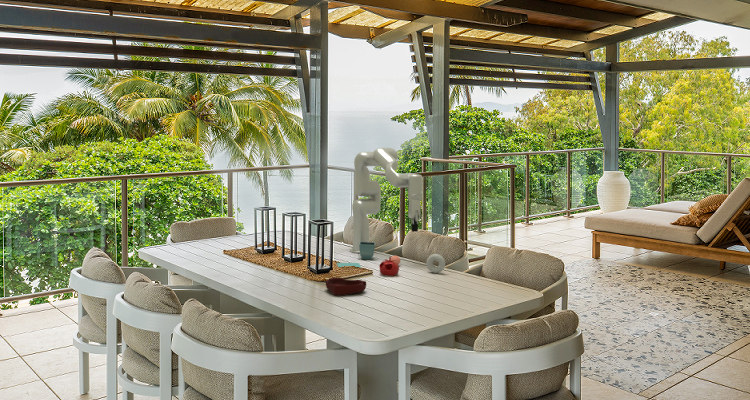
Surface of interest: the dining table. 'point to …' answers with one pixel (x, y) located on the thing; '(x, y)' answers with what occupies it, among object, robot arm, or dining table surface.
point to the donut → (440, 261)
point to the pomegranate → (389, 268)
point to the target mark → (349, 264)
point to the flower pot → (367, 250)
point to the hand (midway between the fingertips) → (414, 231)
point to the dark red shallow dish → (345, 286)
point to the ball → (396, 259)
